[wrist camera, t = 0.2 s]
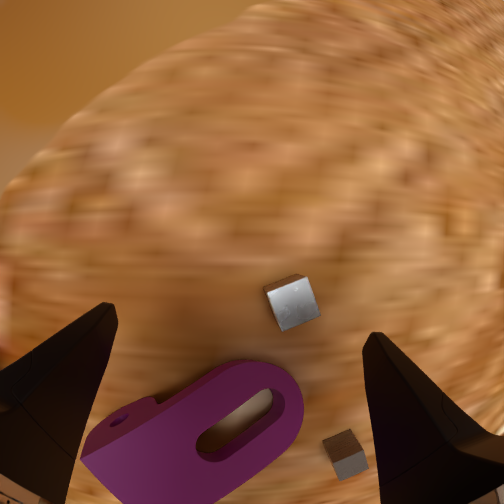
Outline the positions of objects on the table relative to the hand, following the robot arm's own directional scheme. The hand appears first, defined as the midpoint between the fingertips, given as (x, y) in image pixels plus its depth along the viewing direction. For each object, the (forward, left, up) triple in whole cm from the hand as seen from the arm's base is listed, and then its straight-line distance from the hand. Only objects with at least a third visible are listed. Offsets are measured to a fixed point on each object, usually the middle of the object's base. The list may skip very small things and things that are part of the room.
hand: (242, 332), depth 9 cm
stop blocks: (-11, -3, -15) cm, 18 cm away
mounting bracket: (-11, +8, -15) cm, 20 cm away
